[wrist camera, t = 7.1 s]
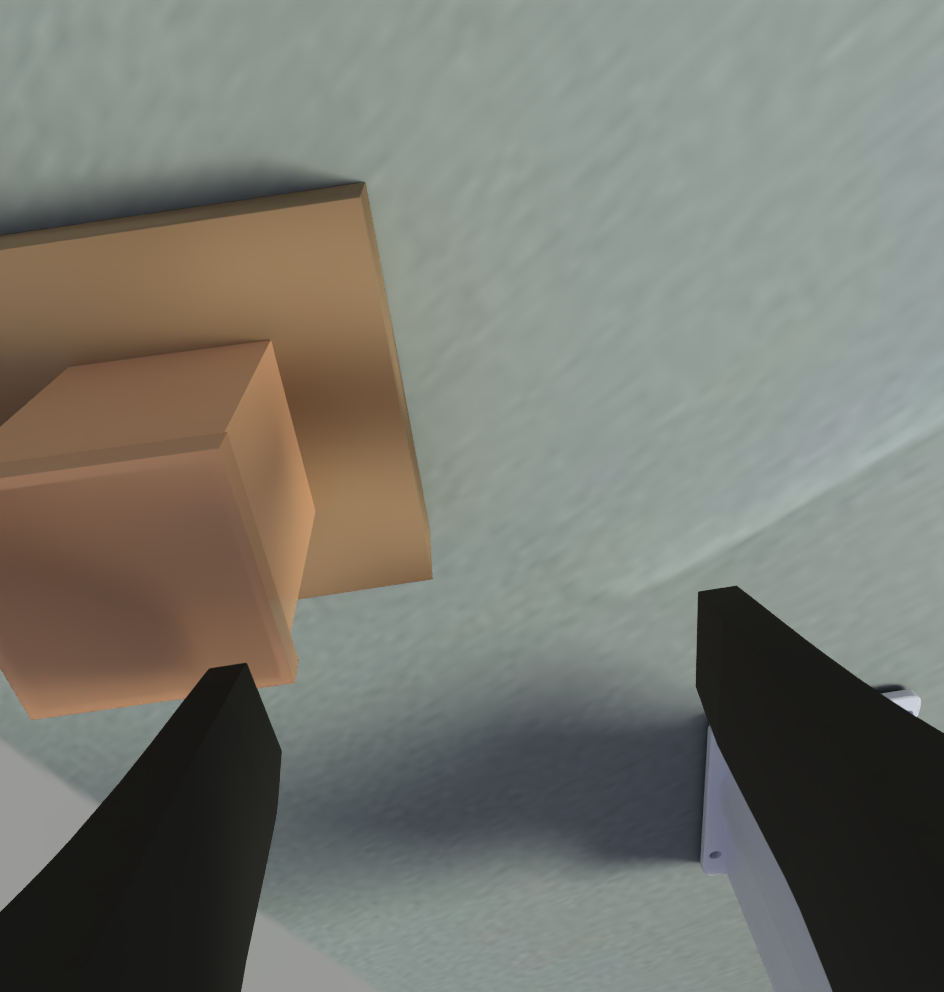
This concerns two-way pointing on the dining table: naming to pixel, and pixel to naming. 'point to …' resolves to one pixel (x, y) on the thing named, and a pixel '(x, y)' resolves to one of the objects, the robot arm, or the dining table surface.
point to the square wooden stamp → (150, 530)
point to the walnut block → (237, 320)
